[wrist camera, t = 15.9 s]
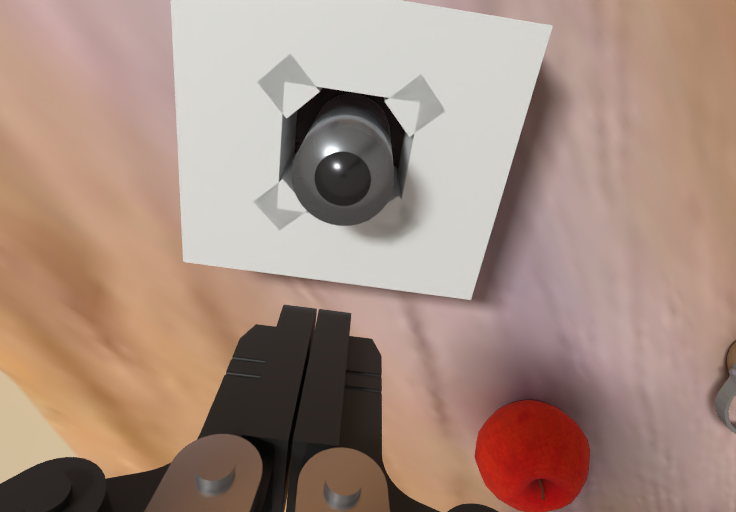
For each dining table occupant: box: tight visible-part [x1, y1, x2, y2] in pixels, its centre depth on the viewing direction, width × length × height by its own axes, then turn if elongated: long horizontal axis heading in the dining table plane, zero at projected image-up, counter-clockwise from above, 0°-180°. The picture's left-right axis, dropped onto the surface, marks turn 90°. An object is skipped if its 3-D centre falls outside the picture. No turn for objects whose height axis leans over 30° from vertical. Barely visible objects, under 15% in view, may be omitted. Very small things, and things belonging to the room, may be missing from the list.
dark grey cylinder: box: [291, 94, 394, 226], centre depth 24 cm, size 4×4×8 cm
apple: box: [475, 400, 590, 512], centre depth 34 cm, size 8×8×7 cm
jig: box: [171, 0, 553, 300], centre depth 25 cm, size 16×14×5 cm
